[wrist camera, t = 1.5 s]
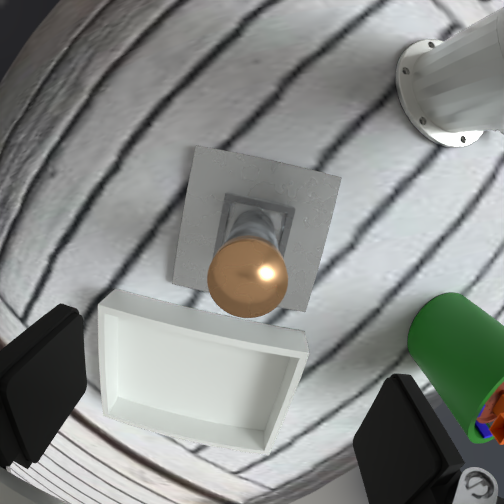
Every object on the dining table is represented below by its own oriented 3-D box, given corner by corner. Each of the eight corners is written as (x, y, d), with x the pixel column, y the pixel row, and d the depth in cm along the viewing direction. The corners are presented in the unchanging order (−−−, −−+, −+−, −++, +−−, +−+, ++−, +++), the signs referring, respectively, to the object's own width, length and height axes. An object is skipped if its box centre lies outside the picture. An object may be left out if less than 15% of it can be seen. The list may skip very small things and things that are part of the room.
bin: (304, 331, 34) (309, 352, 30) (268, 431, 38) (268, 455, 34) (115, 288, 34) (97, 304, 29) (115, 395, 38) (103, 415, 33)
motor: (453, 360, 35) (529, 456, 16) (398, 367, 35) (466, 485, 16) (473, 291, 32) (578, 373, 13) (416, 293, 33) (522, 397, 13)
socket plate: (339, 177, 30) (345, 178, 27) (304, 308, 33) (307, 318, 31) (198, 146, 29) (192, 144, 27) (174, 280, 33) (168, 289, 31)
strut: (281, 214, 30) (296, 251, 17) (270, 258, 31) (277, 324, 18) (235, 204, 30) (214, 233, 17) (226, 249, 31) (201, 308, 18)
